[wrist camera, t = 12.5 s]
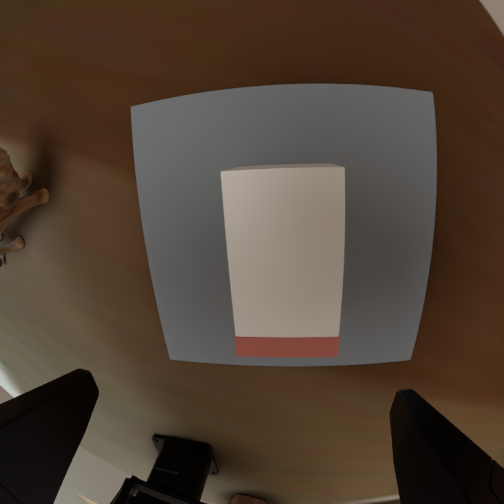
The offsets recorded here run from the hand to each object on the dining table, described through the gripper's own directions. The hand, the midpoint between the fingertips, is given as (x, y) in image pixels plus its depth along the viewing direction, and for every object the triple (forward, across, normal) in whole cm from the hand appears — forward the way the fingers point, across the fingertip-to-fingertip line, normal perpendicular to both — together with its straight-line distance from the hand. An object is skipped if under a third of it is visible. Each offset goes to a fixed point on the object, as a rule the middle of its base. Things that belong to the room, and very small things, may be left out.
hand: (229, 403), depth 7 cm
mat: (+12, -1, -1) cm, 12 cm away
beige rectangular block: (+11, -1, -1) cm, 11 cm away
